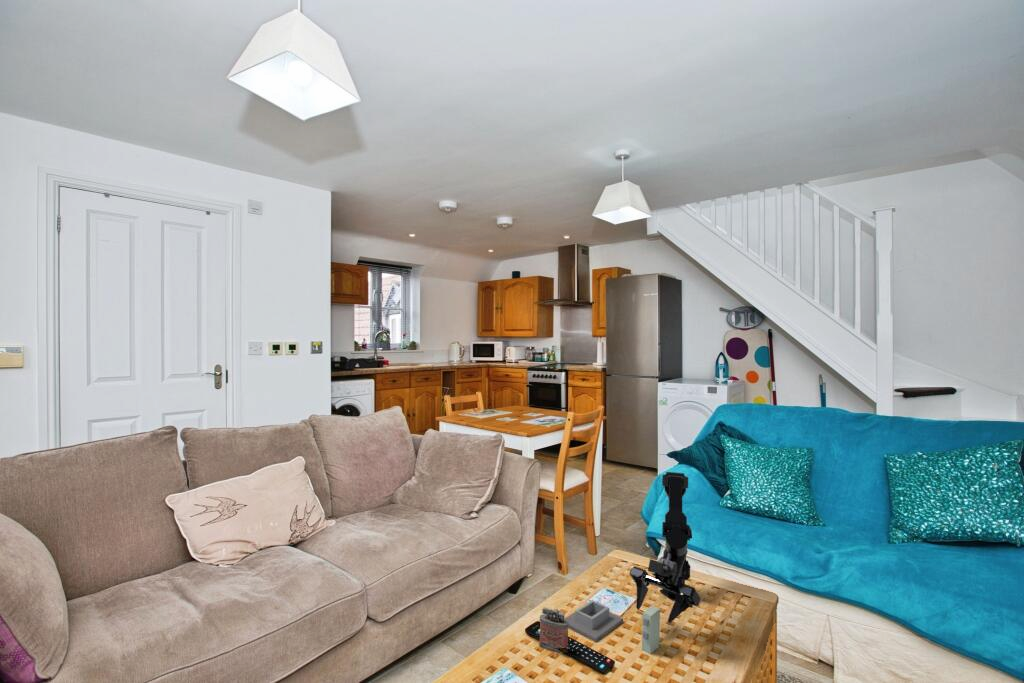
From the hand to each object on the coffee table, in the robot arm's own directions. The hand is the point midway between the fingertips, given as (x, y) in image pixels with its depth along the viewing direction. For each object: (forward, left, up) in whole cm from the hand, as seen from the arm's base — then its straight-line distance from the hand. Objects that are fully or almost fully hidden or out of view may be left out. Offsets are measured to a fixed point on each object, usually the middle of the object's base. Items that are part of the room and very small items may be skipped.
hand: (652, 615), depth 132 cm
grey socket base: (+9, -16, -8) cm, 20 cm away
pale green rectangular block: (+1, 0, -8) cm, 9 cm away
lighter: (+25, -10, -9) cm, 28 cm away
